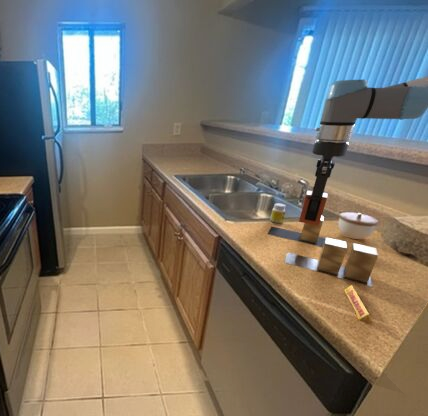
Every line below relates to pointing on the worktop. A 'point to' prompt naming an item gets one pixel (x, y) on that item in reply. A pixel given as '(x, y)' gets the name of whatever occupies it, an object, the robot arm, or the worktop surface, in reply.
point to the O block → (311, 232)
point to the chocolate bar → (357, 305)
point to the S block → (320, 212)
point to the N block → (360, 262)
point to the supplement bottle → (278, 214)
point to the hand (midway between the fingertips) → (310, 216)
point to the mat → (293, 236)
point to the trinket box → (356, 225)
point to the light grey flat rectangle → (313, 264)
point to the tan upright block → (332, 255)
